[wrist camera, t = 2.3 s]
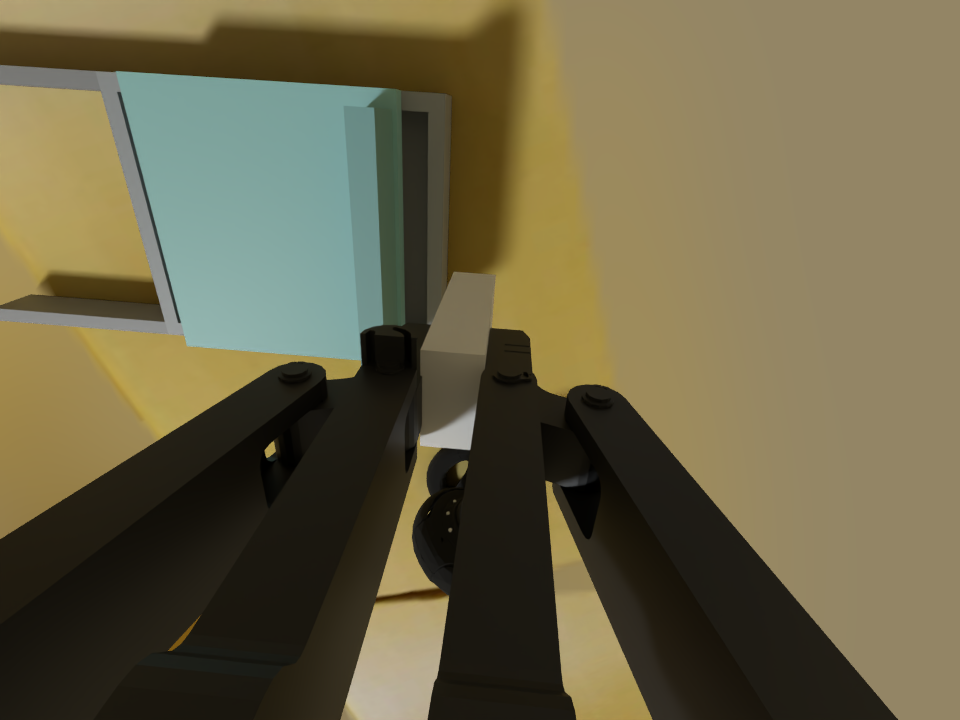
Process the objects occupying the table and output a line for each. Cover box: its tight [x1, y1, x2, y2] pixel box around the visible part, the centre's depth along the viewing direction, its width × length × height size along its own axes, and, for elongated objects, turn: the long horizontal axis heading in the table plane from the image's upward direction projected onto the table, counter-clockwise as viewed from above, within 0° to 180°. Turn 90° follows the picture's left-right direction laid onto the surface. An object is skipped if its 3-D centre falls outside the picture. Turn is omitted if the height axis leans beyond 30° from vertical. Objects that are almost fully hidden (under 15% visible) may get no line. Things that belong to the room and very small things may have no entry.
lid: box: [116, 71, 405, 366], centre depth 23 cm, size 14×13×4 cm
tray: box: [0, 65, 452, 335], centre depth 26 cm, size 14×27×2 cm, turn 87°
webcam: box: [412, 448, 470, 595], centre depth 30 cm, size 8×8×10 cm
